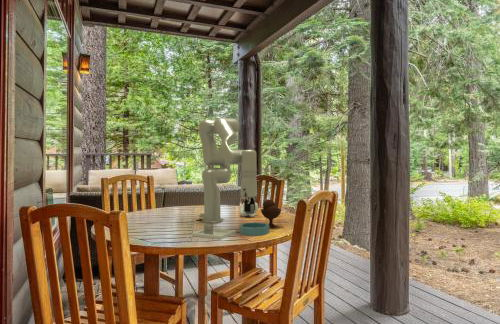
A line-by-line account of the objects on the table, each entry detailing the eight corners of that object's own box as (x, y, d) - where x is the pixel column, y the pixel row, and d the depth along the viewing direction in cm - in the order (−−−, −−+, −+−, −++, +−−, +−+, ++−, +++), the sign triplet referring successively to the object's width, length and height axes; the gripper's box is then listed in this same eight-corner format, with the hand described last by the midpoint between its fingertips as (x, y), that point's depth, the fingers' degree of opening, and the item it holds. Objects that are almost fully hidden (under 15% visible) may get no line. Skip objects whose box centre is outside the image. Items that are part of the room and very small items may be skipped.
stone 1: (202, 234, 174) (202, 225, 174) (207, 232, 178) (207, 223, 178) (209, 235, 172) (209, 226, 172) (214, 233, 176) (214, 224, 176)
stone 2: (244, 213, 178) (243, 204, 178) (248, 212, 182) (248, 203, 182) (251, 214, 176) (251, 205, 176) (255, 212, 180) (255, 203, 180)
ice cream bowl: (280, 229, 187) (279, 200, 187) (259, 228, 190) (258, 200, 189) (282, 225, 198) (282, 198, 197) (262, 224, 200) (262, 197, 200)
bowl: (235, 234, 175) (234, 226, 175) (248, 229, 188) (248, 221, 188) (260, 237, 169) (260, 229, 169) (272, 231, 181) (272, 223, 181)
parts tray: (192, 237, 171) (192, 233, 171) (209, 231, 184) (209, 227, 184) (220, 240, 164) (220, 236, 164) (236, 234, 176) (236, 230, 176)
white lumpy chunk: (253, 214, 236) (253, 200, 236) (262, 216, 225) (262, 202, 225) (238, 215, 231) (237, 201, 230) (246, 218, 220) (246, 204, 220)
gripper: (250, 173, 188) (251, 208, 188) (234, 175, 173) (234, 213, 173) (263, 173, 184) (263, 209, 185) (247, 175, 169) (248, 213, 170)
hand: (249, 210), depth 179 cm, fingers closed on stone 2, 4 cm apart
